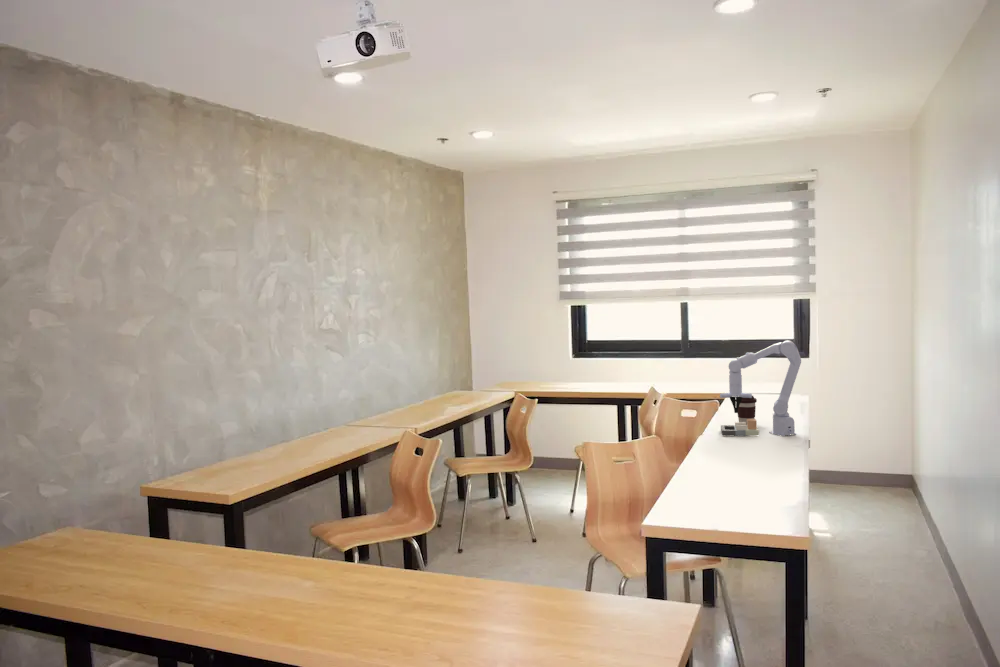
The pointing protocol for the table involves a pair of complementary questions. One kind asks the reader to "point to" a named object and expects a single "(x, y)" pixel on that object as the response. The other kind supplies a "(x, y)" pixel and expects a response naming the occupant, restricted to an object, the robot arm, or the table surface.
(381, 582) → the table surface
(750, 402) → the coffee cup
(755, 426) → the terracotta block
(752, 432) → the pad
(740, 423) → the channel walls
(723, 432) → the gray recessed tray
